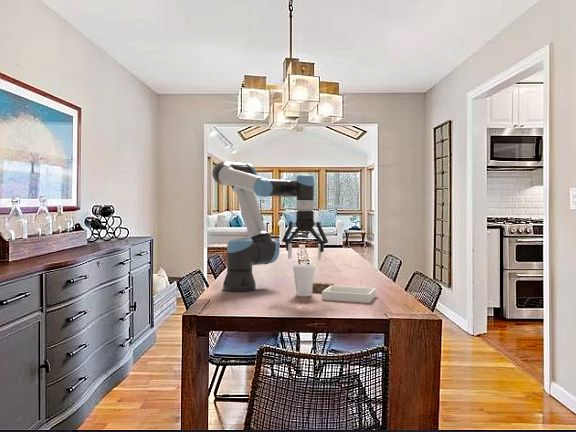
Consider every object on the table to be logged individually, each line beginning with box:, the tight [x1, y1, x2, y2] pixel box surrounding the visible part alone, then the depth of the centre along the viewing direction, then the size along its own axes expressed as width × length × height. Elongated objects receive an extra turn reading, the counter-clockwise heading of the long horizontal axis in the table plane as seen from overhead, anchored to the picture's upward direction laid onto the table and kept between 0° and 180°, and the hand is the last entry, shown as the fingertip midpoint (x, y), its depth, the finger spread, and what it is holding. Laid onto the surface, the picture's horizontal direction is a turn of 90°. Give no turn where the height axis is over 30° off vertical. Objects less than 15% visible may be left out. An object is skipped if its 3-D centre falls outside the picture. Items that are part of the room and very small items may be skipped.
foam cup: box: [292, 263, 316, 297], centre depth 226 cm, size 10×9×13 cm
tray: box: [321, 284, 377, 304], centre depth 221 cm, size 20×16×4 cm
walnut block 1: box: [312, 281, 323, 293], centre depth 236 cm, size 4×4×4 cm
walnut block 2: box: [322, 282, 335, 291], centre depth 234 cm, size 4×4×4 cm
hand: (304, 259), depth 226 cm, fingers open, 13 cm apart
